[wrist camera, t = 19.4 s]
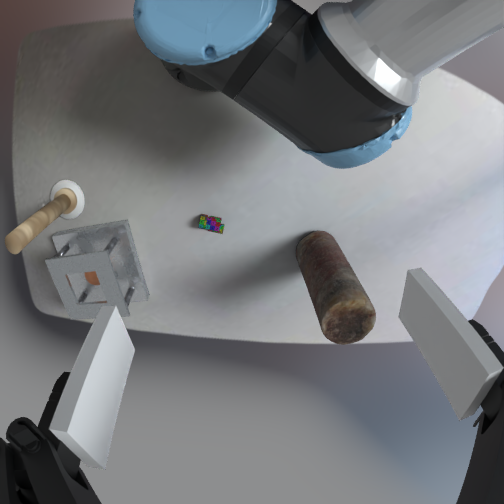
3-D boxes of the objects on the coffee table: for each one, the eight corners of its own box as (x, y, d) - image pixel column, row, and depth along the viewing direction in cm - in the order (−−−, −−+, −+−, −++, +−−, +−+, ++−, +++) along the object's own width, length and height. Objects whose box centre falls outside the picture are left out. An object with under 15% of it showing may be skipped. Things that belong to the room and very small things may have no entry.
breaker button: (90, 257, 51) (81, 268, 48) (106, 254, 51) (99, 266, 48) (96, 274, 53) (88, 286, 49) (112, 272, 53) (105, 284, 49)
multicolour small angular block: (198, 228, 51) (197, 234, 49) (201, 213, 50) (200, 218, 48) (223, 234, 52) (223, 240, 50) (227, 218, 51) (227, 224, 49)
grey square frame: (56, 232, 49) (35, 253, 42) (128, 219, 49) (112, 241, 42) (82, 300, 56) (67, 326, 49) (149, 294, 56) (140, 322, 49)
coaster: (47, 184, 45) (46, 185, 44) (79, 175, 45) (78, 176, 44) (57, 221, 48) (56, 222, 48) (89, 214, 48) (88, 215, 48)
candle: (306, 274, 56) (336, 354, 39) (285, 244, 53) (312, 321, 35) (342, 252, 55) (387, 324, 37) (323, 220, 52) (369, 287, 34)
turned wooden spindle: (53, 190, 45) (-4, 231, 30) (73, 185, 45) (18, 225, 30) (60, 214, 47) (7, 261, 32) (80, 209, 47) (29, 257, 32)
